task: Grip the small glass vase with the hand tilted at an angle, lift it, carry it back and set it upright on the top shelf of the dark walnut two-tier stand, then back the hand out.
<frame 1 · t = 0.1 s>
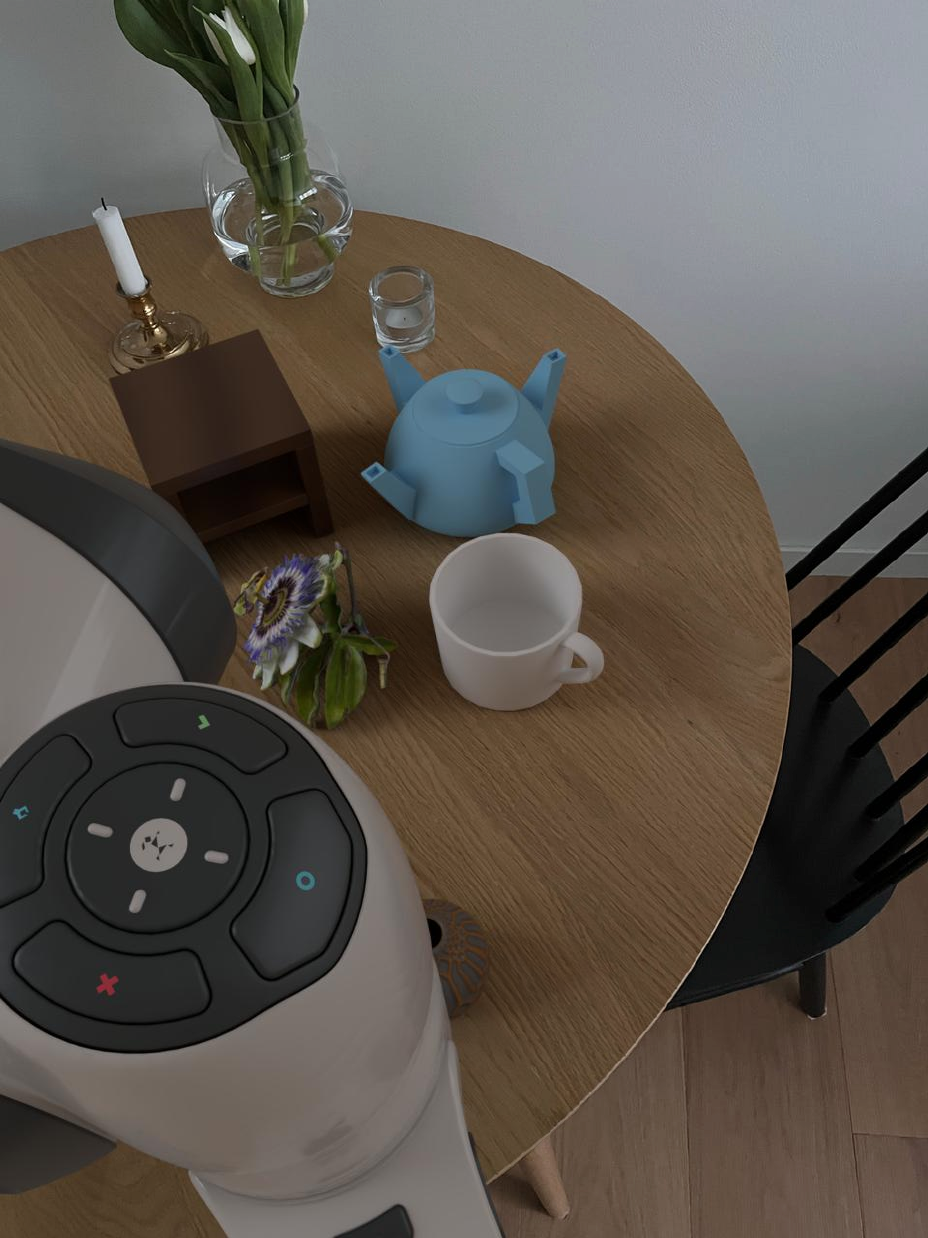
hand: (361, 1116, 44), 20 cm above the table, tool pointing down, fingers open, 8 cm apart
stand: (242, 507, 88), on the table
teapot: (468, 483, 89), on the table
vase: (435, 977, 66), on the table
passion flower: (325, 660, 80), on the table
mug: (521, 666, 79), on the table
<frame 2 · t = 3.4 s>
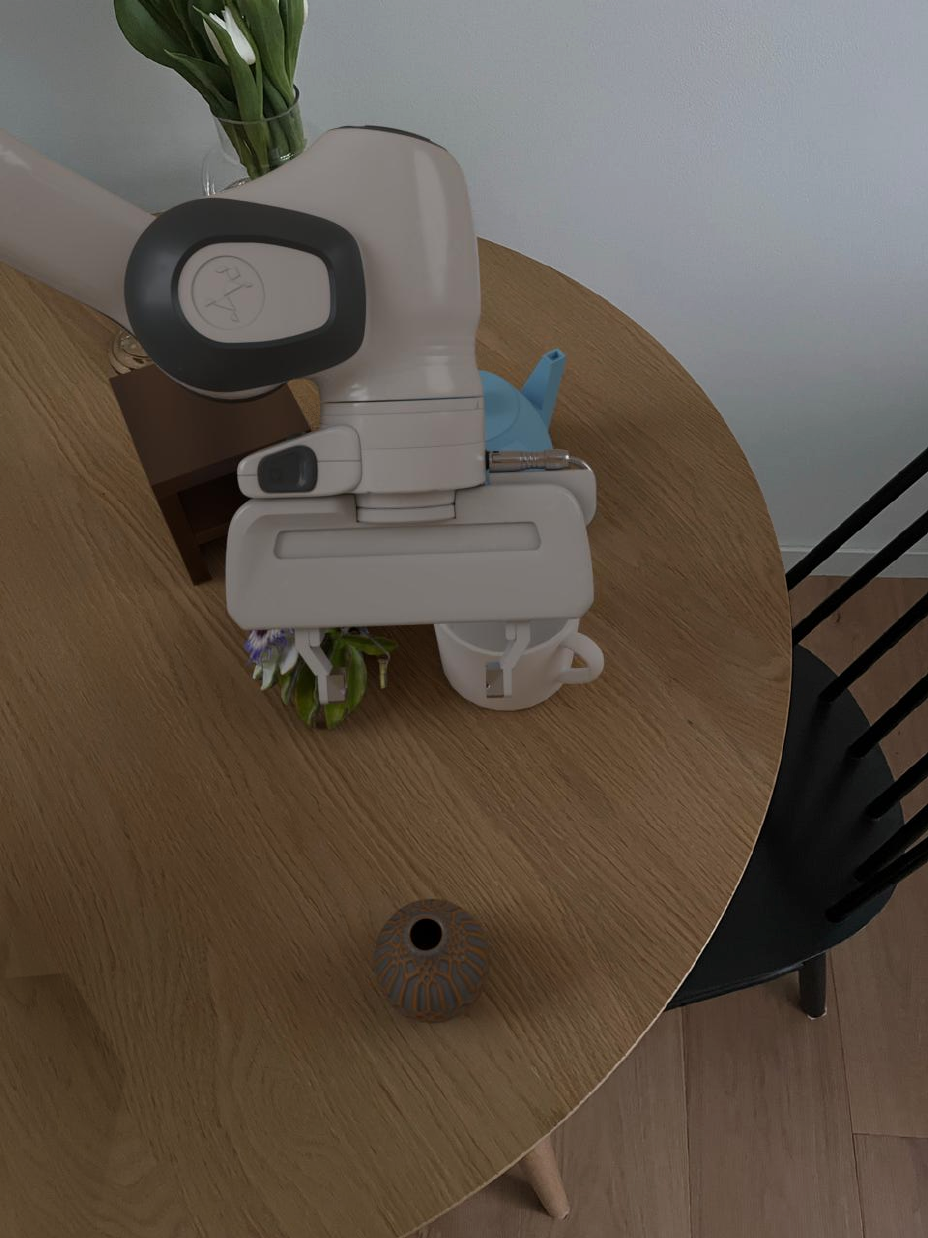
hand: (416, 698, 61), 15 cm above the table, tool tilted 45°, fingers open, 8 cm apart
nothing on the table moved.
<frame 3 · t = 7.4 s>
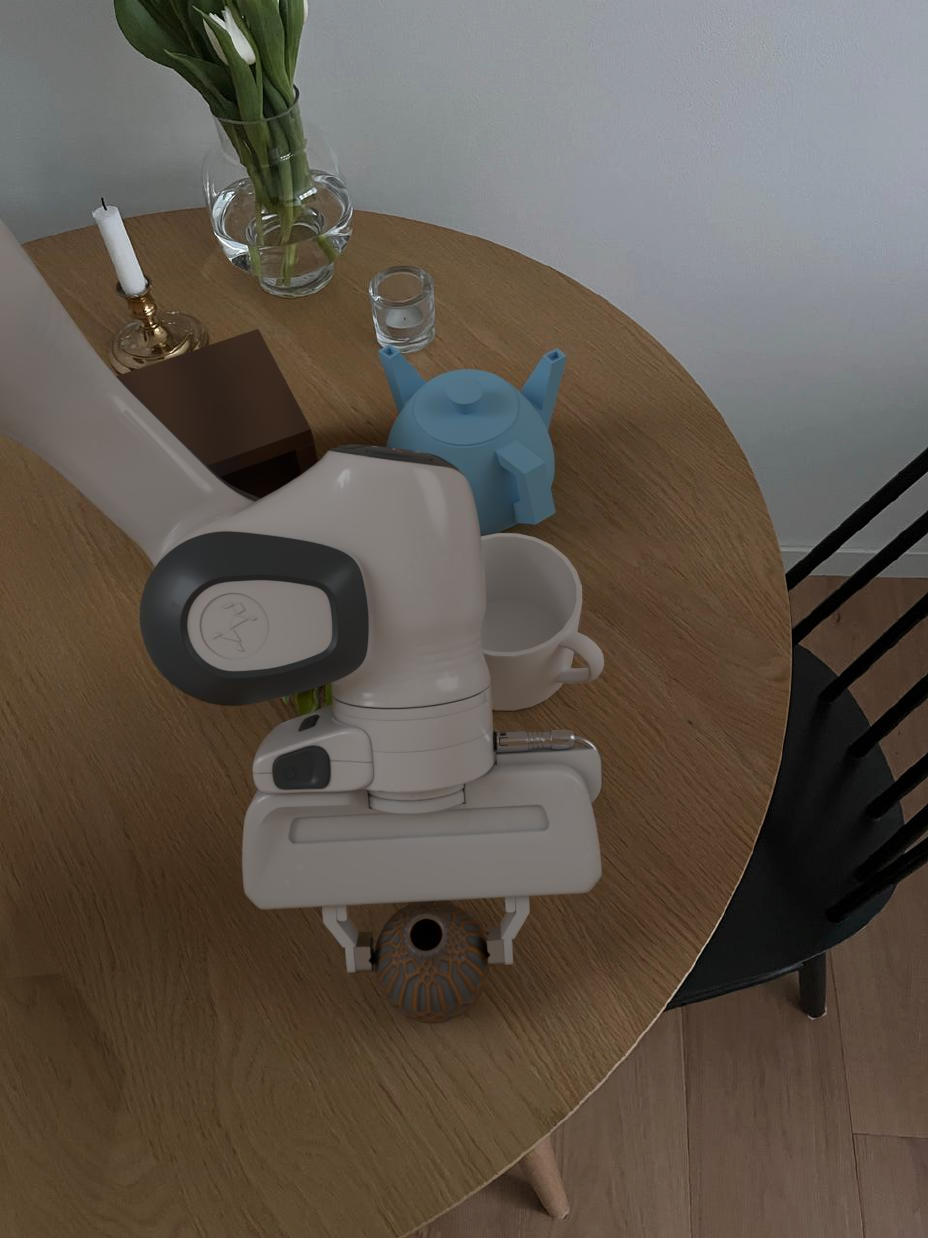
hand: (430, 964, 62), 5 cm above the table, tool tilted 45°, fingers closed on vase, 7 cm apart
vase: (436, 978, 66), on the table, touching gripper
everything else where it was.
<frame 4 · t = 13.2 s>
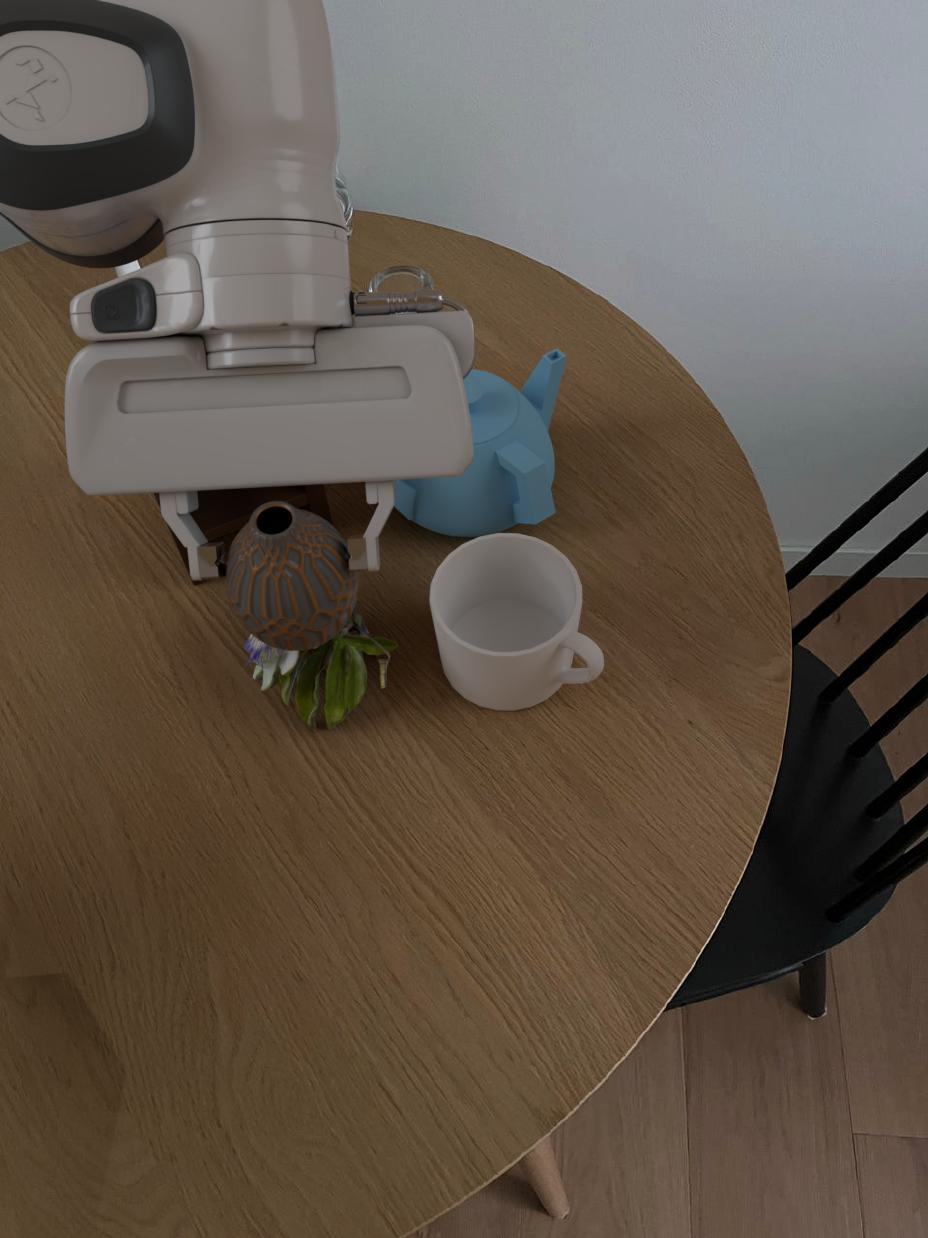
hand: (286, 574, 55), 23 cm above the table, tool tilted 45°, fingers closed on vase, 7 cm apart
vase: (304, 619, 60), point 18 cm above the table, touching gripper
everything else where it was.
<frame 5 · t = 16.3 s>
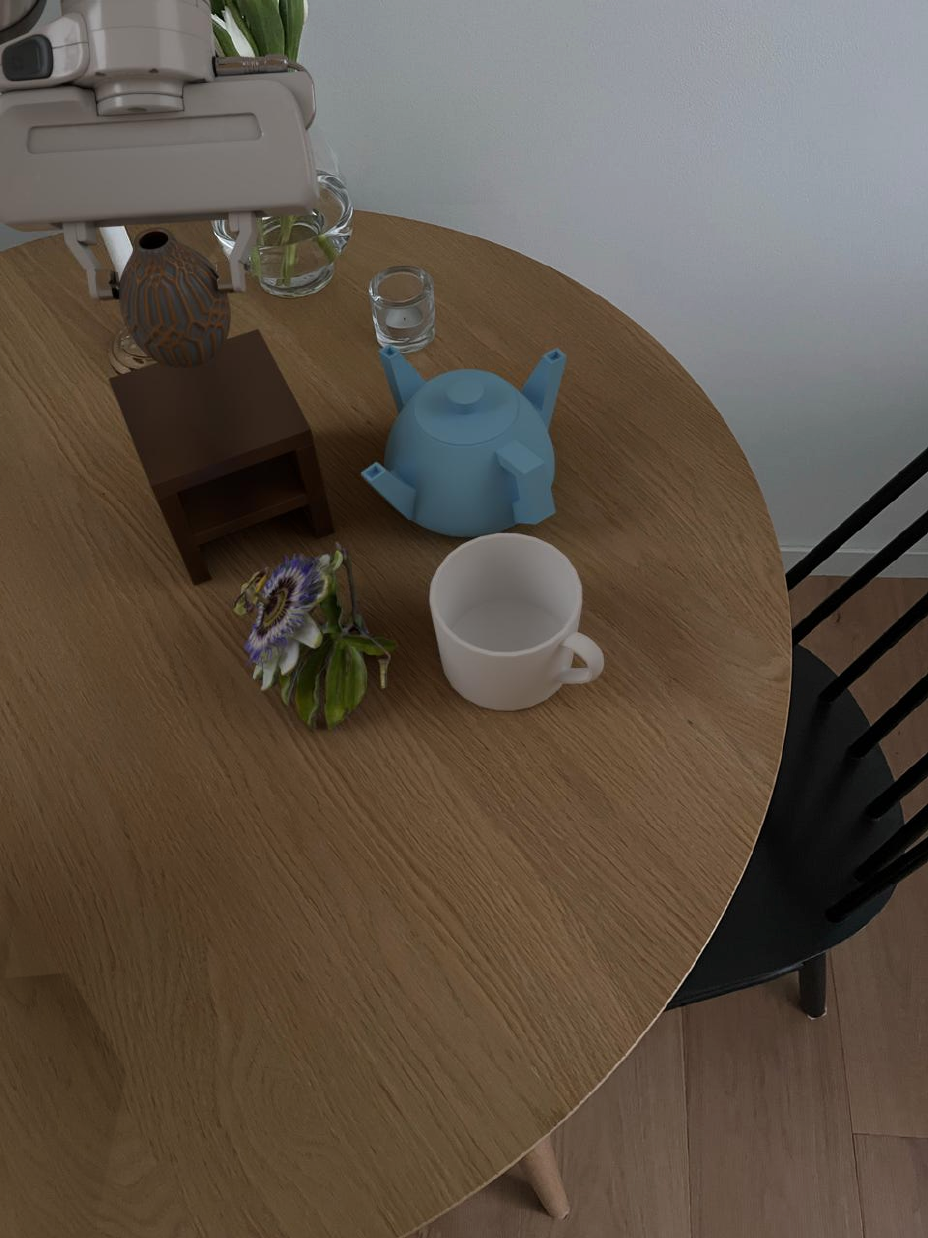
hand: (168, 296, 68), 23 cm above the table, tool tilted 45°, fingers closed on vase, 7 cm apart
vase: (190, 350, 72), point 18 cm above the table, touching gripper
everything else where it was.
when the fingers open (17 cm above the table, at t = 18.9 s): vase stays where it is, resting on stand.
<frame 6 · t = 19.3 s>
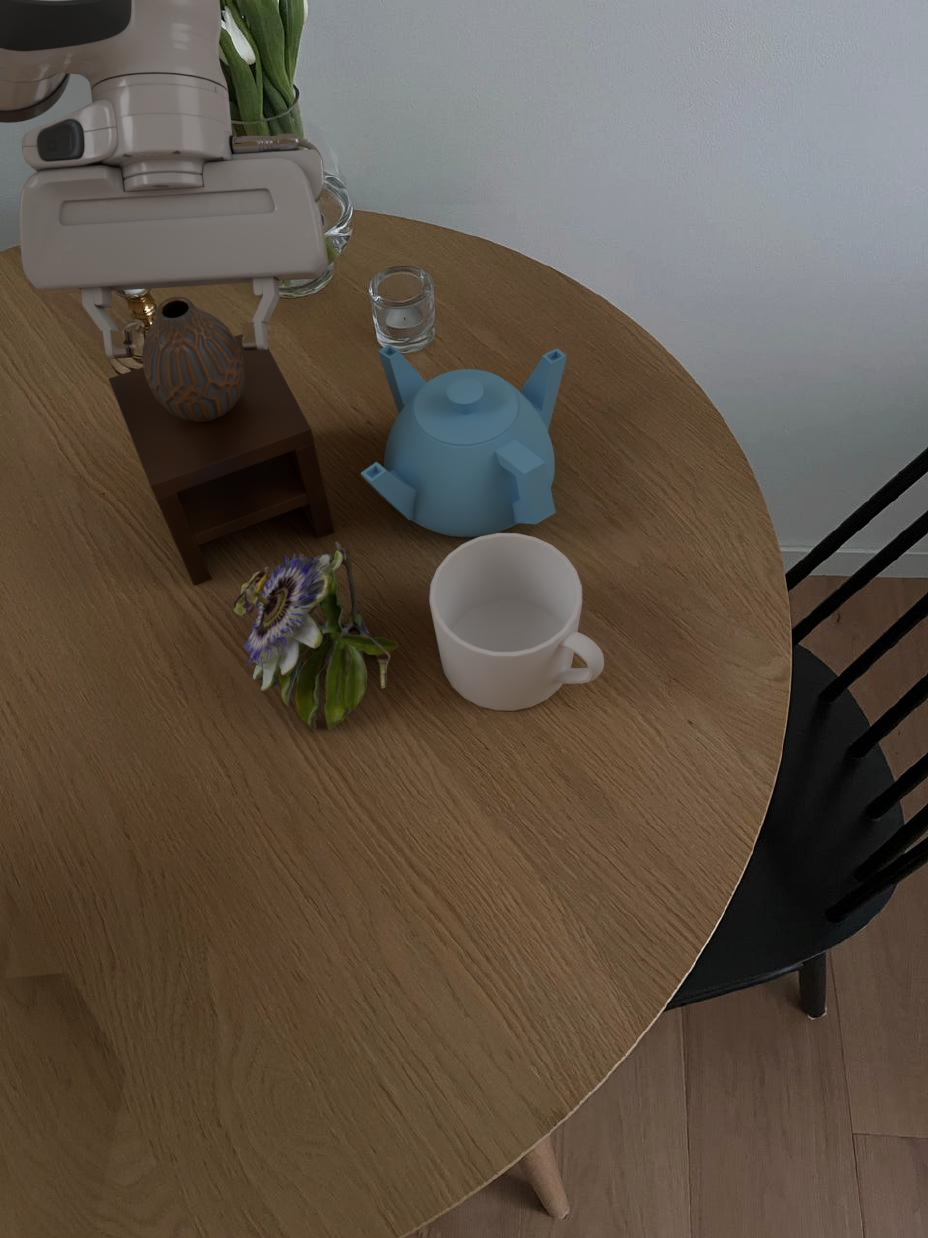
hand: (188, 354, 73), 17 cm above the table, tool tilted 45°, fingers open, 8 cm apart
vase: (207, 404, 78), point 12 cm above the table, touching stand
everything else where it was.
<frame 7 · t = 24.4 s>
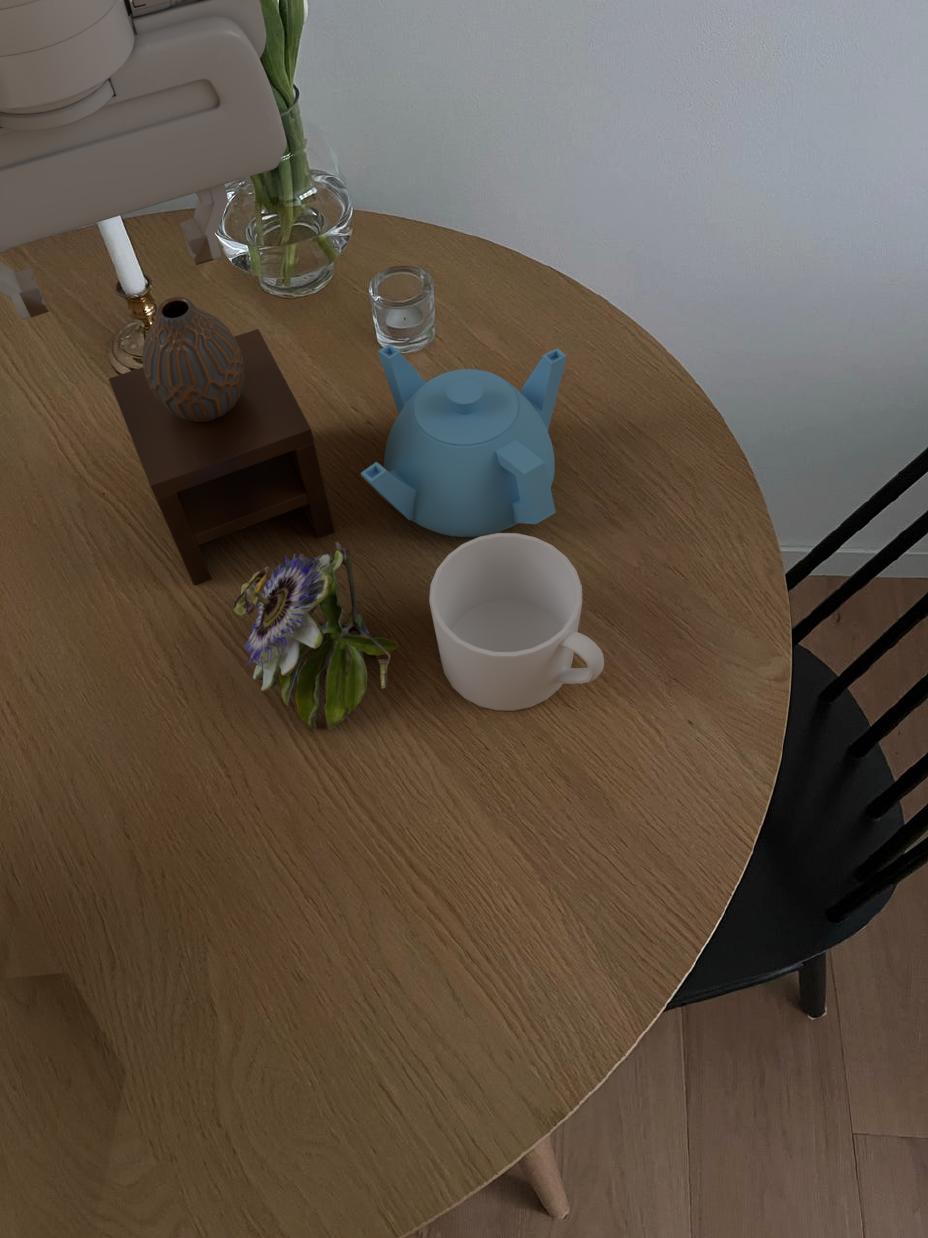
hand: (120, 282, 57), 31 cm above the table, tool pointing down, fingers open, 8 cm apart
nothing on the table moved.
at the end: vase inside the target area on the stand (0.0 cm from its centre), point 11.8 cm above the stand's base; vase tilted 0°; the gripper is holding nothing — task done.
